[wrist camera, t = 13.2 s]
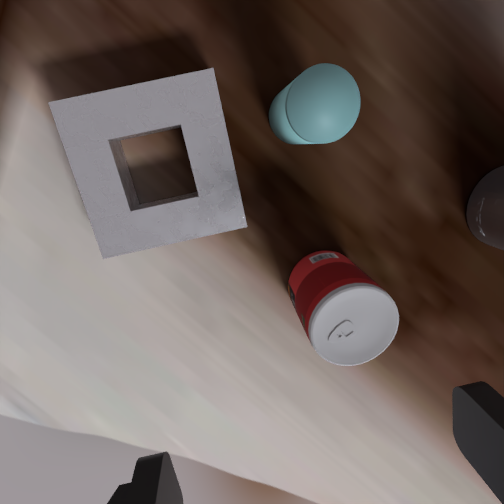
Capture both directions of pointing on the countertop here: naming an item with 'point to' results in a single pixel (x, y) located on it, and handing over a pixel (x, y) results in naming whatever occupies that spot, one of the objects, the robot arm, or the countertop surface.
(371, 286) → the canned food
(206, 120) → the housing
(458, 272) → the countertop surface
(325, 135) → the teal cylinder
